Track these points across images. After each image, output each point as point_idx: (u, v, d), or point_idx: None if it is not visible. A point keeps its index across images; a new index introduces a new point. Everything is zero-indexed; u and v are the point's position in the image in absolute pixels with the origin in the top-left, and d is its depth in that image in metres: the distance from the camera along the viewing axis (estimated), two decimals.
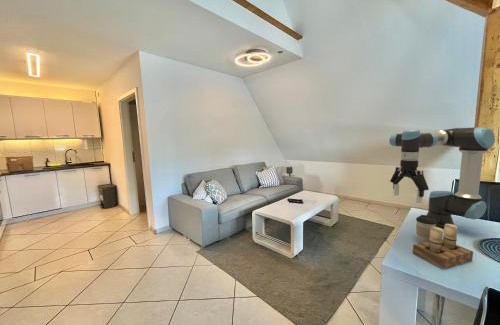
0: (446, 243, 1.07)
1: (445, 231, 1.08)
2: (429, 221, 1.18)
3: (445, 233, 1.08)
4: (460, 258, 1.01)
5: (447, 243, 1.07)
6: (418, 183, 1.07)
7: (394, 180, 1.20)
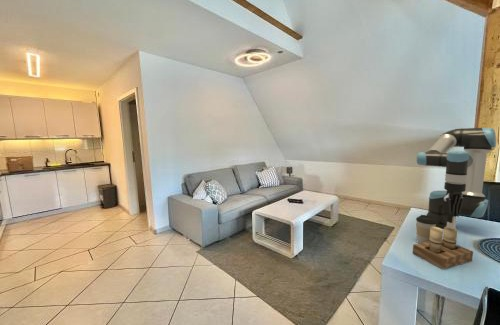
0: (446, 246, 1.08)
1: (445, 234, 1.08)
2: (429, 221, 1.18)
3: (445, 236, 1.08)
4: (460, 258, 1.01)
5: (447, 246, 1.07)
6: None
7: None
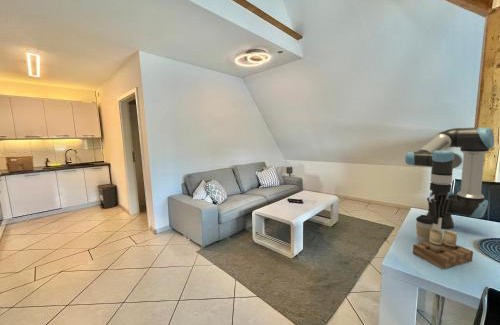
0: None
1: (444, 237, 1.08)
2: (429, 221, 1.18)
3: (444, 239, 1.08)
4: (460, 258, 1.01)
5: None
6: None
7: None
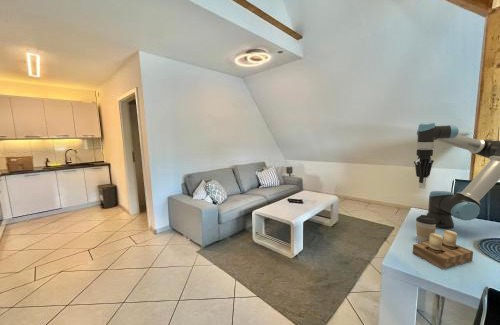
0: None
1: (444, 237, 1.08)
2: (429, 221, 1.18)
3: (444, 239, 1.08)
4: (460, 258, 1.01)
5: None
6: None
7: None
